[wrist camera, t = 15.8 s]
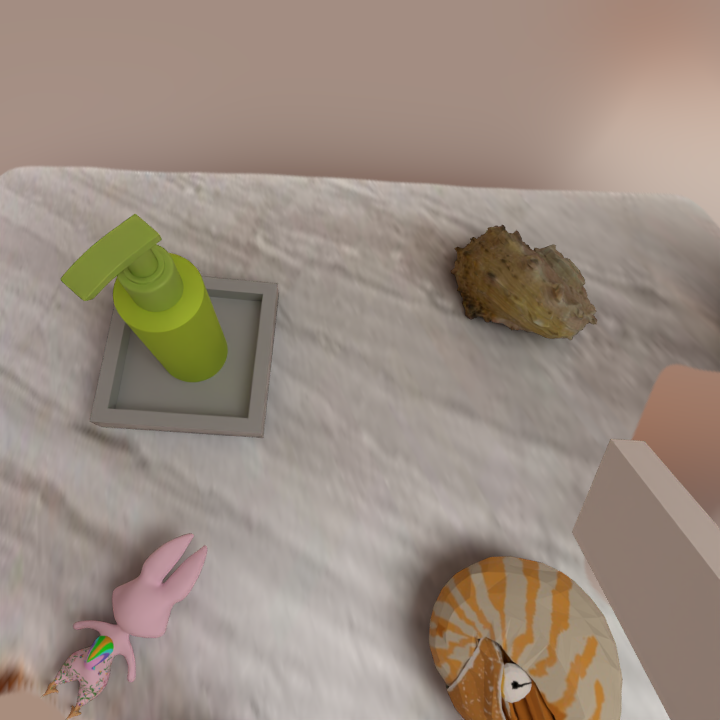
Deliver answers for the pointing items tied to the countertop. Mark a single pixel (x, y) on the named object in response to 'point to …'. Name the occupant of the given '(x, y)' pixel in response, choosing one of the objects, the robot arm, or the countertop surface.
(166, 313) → the soap dispenser
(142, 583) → the rabbit figure
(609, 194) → the countertop surface
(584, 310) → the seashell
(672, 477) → the robot arm
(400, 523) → the countertop surface
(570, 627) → the nautilus
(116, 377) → the holder tray
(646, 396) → the countertop surface
